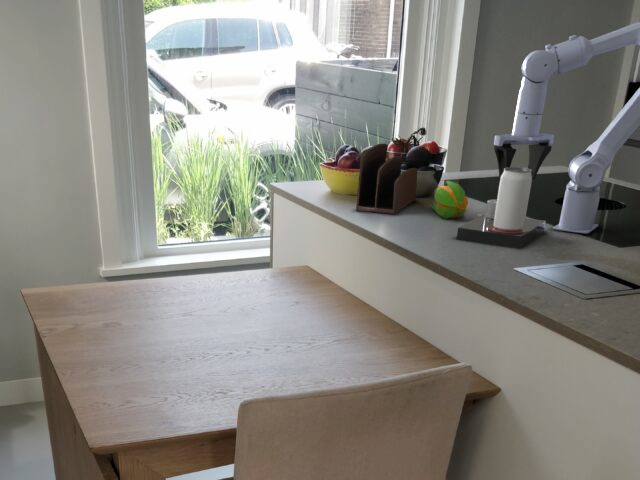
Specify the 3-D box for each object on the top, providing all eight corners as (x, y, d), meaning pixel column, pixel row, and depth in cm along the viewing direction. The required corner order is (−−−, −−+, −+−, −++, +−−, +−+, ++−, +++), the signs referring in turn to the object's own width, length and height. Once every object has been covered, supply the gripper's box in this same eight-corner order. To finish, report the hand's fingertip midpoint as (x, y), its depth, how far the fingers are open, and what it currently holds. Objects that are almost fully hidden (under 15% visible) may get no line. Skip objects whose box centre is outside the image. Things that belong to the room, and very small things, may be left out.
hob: (481, 222, 197) (483, 211, 195) (544, 231, 190) (547, 219, 188) (451, 238, 183) (453, 226, 182) (518, 248, 176) (520, 235, 175)
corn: (445, 188, 192) (426, 172, 209) (438, 222, 196) (421, 204, 213) (476, 190, 193) (455, 175, 210) (469, 224, 197) (449, 206, 214)
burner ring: (494, 222, 186) (494, 221, 186) (534, 227, 182) (534, 227, 182) (480, 230, 180) (480, 229, 179) (521, 236, 175) (521, 235, 175)
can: (520, 225, 183) (530, 167, 177) (525, 232, 178) (536, 172, 171) (490, 224, 184) (499, 166, 177) (495, 231, 178) (504, 171, 172)
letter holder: (355, 211, 206) (359, 150, 199) (379, 196, 222) (384, 139, 214) (394, 215, 203) (399, 153, 195) (416, 200, 218) (422, 142, 211)
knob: (481, 216, 191) (483, 199, 189) (492, 214, 193) (494, 197, 191) (495, 219, 188) (498, 202, 186) (506, 217, 190) (509, 200, 188)
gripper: (512, 116, 175) (500, 183, 183) (567, 115, 180) (554, 181, 187) (493, 112, 181) (482, 177, 188) (547, 111, 186) (534, 175, 193)
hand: (516, 179), depth 188 cm, fingers open, 7 cm apart
